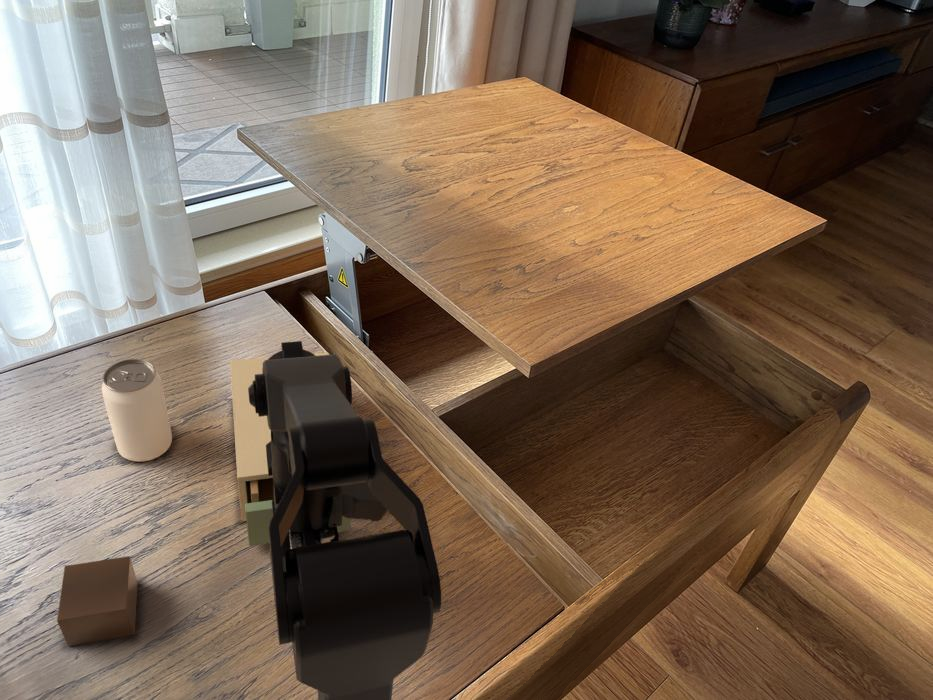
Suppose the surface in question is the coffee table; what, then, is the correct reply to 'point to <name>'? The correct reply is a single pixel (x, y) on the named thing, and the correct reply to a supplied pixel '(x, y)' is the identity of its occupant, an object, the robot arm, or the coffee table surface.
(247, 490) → the cabinet
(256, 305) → the coffee table surface
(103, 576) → the brown cube
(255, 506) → the drawer
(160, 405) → the can
